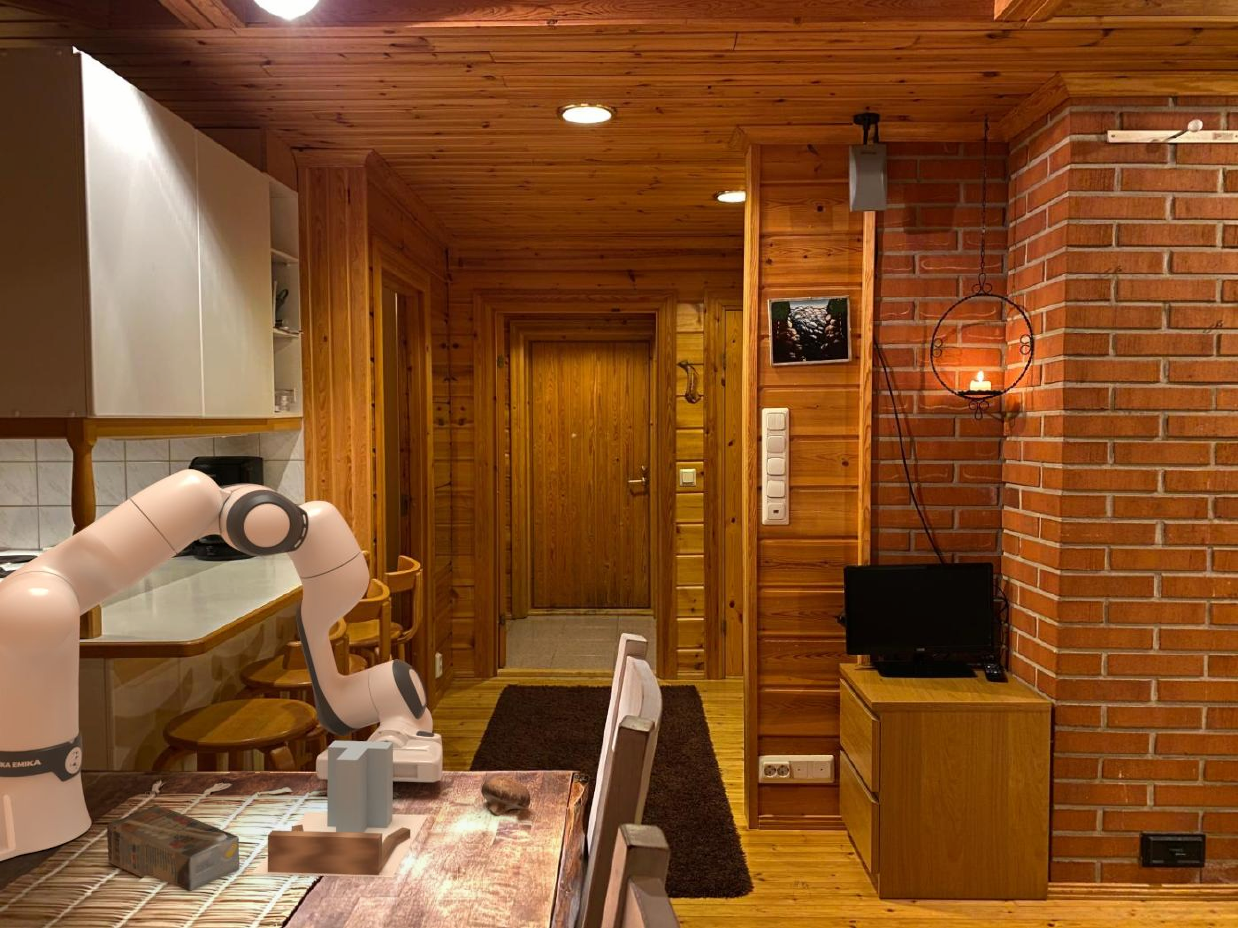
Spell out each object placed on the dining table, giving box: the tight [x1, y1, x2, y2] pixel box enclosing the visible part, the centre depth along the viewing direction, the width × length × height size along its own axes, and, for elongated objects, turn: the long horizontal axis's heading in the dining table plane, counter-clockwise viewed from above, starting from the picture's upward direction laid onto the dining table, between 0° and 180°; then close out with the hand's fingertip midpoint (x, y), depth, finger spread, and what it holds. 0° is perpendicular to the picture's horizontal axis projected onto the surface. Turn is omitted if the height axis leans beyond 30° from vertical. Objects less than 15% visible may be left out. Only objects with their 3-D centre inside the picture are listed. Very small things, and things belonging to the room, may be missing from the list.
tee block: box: [326, 740, 394, 833], centre depth 135 cm, size 9×8×12 cm
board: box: [250, 811, 429, 879], centre depth 131 cm, size 19×20×1 cm
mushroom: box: [480, 776, 531, 817], centre depth 145 cm, size 8×8×6 cm
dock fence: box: [267, 825, 410, 875], centre depth 128 cm, size 18×12×5 cm
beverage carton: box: [106, 804, 240, 892], centre depth 124 cm, size 8×19×6 cm, turn 60°
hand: (367, 781), depth 142 cm, fingers closed
